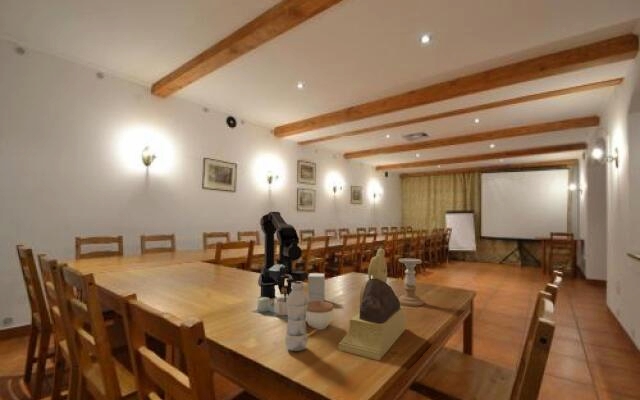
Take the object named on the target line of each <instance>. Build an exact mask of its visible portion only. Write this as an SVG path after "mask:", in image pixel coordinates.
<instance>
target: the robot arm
mask: <svg viewBox="0 0 640 400" xmlns="http://www.w3.org/2000/svg"><path fill="white" fill-rule="evenodd" d="M259 225H260V226H261V227H260V228H261V231H262V232H263V235H264V257H263V259H264V265H263V266H262V268H261V269H260V275H259V277H258V280H257V284H258V287H260V296H259V297H258V298H260V297H268V298H270V300H271V299H276V297H277V295H276V287H275V286H277V287H278V290H279V291H278V292H279V293H280V295H283V294H282V293H281V288H282V286H283V285H285V282H286V283H287V285H288V287H287V293H288V294H287V297H288V296H289V294H290V293H291V291H292V289H291V283H292V282H296V281H299V282H303V281H304V280H308V276H309V274H308V272H307V271H305V270H304V271H303V270H298V271H295V268H293V267H294V266H293V264H294V263H295V261H297V260H299V259H301V257H302V253H303V251H302V248H301V247H300V246H299V245H298V244H299V243H300V237H299V236H298V232H297V230H296V228H295V227H294V226H293V225H291V224H288V223H287V222H286V221H285V219H284V218H283V217H282V214H281V212H280V211H270V212H268V213H267V214H264V215H262V216H261V218H260V221H259ZM275 234H276V239H277V241H278V246H279V249H278V255H279V256H278V259H276V263H275ZM286 277H288V279H286ZM258 298H257V299H258ZM277 298H278V297H277Z"/></svg>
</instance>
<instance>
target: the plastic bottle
mask: <svg viewBox="0 0 640 400" xmlns="http://www.w3.org/2000/svg"><path fill="white" fill-rule="evenodd" d="M304 284H305V283H304V282H303V281H296V282H292V283H291V289H292V291H291V293H290V294H289V296H288V295H287V296H286V297H287V310H288V320H287V327H286V330H287V331H286V335H285V340H284V341H285V347H286V349H287V350H289V351H290V352H301V351H304V350H305V349H306V347H307V345H308V334H307V326H306V325H307V324H306V323H307V322H306V312H307V305H308V295H307V294H306V292H305V291H304V289H305V286H304Z"/></svg>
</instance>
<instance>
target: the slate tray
mask: <svg viewBox="0 0 640 400" xmlns="http://www.w3.org/2000/svg"><path fill="white" fill-rule="evenodd" d="M251 313H256V314H259V315H264V316H268V317H273V318H277V319H281V320H285V321H288V315H285V316H283V315H277V314H275V312H274V302H273V303H271V304H270V311H269V312H266V313H259V312H257V309H254V310H252V311H251Z"/></svg>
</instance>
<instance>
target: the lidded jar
mask: <svg viewBox="0 0 640 400" xmlns="http://www.w3.org/2000/svg"><path fill="white" fill-rule="evenodd" d="M333 313H334V304H332V303H331V302H328V301H325V300H324V301H320V300H317V301H312V302H308V305H307V312H306V323H307V325H308V326H309V327H311V328H312V329H313V328H314V329H315V330H318V331H319V330H321V331H322V330H325V329H326V328H327V327H328V326H329V325H330V323H331V322H332V320H333Z"/></svg>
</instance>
